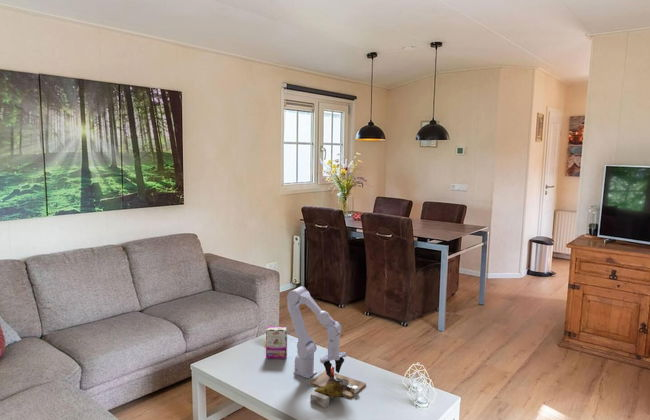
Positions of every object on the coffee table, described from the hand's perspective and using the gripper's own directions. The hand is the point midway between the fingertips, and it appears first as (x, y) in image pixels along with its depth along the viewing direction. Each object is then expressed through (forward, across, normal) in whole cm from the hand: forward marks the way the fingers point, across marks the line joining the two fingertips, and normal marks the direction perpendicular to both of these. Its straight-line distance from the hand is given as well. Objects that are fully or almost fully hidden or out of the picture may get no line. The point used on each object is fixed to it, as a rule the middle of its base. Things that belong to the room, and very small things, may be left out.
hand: (332, 373), depth 226 cm
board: (+4, -7, -7) cm, 11 cm away
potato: (+4, -11, -12) cm, 17 cm away
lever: (+2, 0, -8) cm, 8 cm away
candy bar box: (+4, -11, +38) cm, 39 cm away
